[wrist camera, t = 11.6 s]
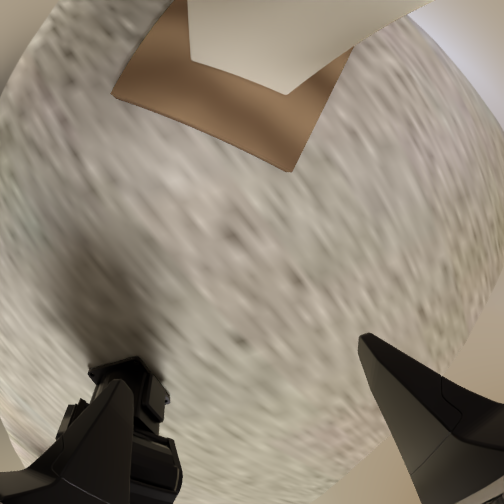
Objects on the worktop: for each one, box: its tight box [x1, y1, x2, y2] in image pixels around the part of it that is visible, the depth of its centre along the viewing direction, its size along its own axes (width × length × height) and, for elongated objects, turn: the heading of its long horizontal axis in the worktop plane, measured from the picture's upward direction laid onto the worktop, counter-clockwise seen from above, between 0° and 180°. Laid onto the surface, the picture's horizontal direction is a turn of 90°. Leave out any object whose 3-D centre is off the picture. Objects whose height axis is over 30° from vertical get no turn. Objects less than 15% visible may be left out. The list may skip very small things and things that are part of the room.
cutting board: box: [111, 0, 354, 172], centre depth 15 cm, size 16×14×2 cm
